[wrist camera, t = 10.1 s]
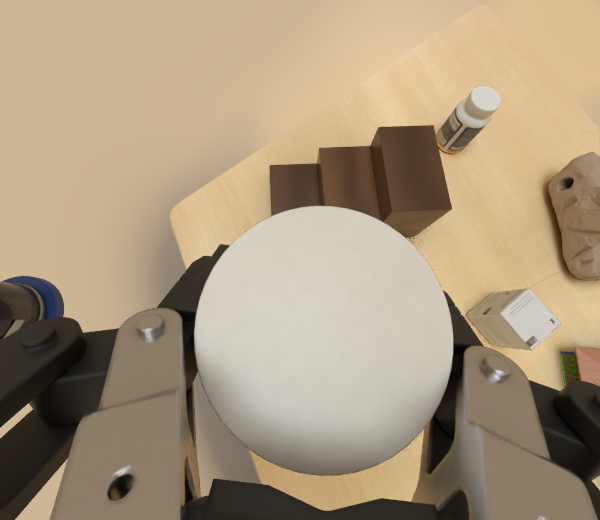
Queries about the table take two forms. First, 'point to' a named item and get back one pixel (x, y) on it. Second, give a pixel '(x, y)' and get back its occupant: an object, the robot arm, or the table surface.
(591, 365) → the house
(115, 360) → the robot arm
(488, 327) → the product carton
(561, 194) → the decorative stone
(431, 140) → the riser
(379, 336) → the amber bottle
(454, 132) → the pill bottle
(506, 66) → the table surface
